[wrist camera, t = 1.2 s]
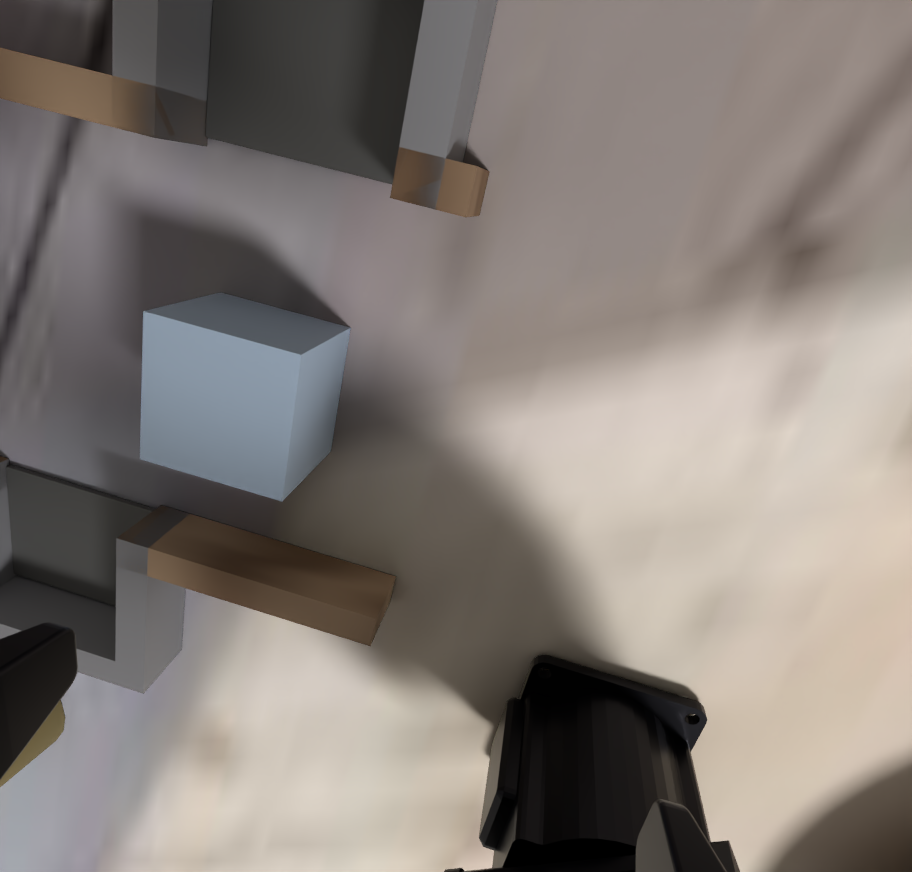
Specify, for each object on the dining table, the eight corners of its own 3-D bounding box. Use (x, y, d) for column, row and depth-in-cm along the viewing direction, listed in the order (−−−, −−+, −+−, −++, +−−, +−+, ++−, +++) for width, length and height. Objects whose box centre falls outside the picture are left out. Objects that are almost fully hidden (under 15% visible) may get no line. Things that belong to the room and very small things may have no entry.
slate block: (351, 327, 19) (301, 355, 16) (331, 450, 21) (282, 501, 17) (222, 291, 20) (143, 311, 16) (213, 416, 21) (139, 458, 18)
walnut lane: (489, 171, 17) (477, 166, 15) (390, 601, 23) (370, 645, 21) (-110, 22, 18) (-207, -4, 16) (-57, 464, 24) (-122, 491, 22)
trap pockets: (514, -83, 15) (505, -136, 12) (347, 703, 25) (324, 753, 23) (-80, -211, 16) (-189, -281, 14) (-7, 589, 26) (-62, 626, 24)
